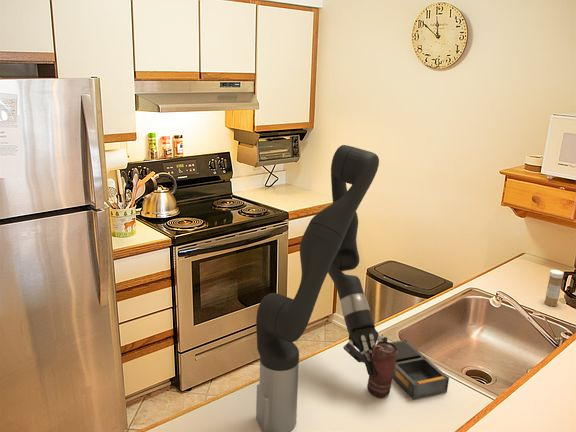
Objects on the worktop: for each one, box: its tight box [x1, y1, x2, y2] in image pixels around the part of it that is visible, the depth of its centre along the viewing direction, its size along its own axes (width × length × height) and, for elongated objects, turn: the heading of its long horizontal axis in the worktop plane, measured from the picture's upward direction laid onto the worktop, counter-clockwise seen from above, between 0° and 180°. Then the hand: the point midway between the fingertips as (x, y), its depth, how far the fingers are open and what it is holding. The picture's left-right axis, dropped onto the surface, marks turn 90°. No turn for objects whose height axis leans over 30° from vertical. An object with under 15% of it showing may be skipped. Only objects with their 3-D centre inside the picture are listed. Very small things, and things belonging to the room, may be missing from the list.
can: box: [366, 341, 398, 399], centre depth 135 cm, size 6×6×14 cm
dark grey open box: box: [389, 339, 450, 401], centre depth 145 cm, size 11×21×5 cm, turn 21°
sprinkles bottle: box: [544, 269, 564, 307], centre depth 193 cm, size 5×5×14 cm
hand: (375, 376), depth 133 cm, fingers closed
